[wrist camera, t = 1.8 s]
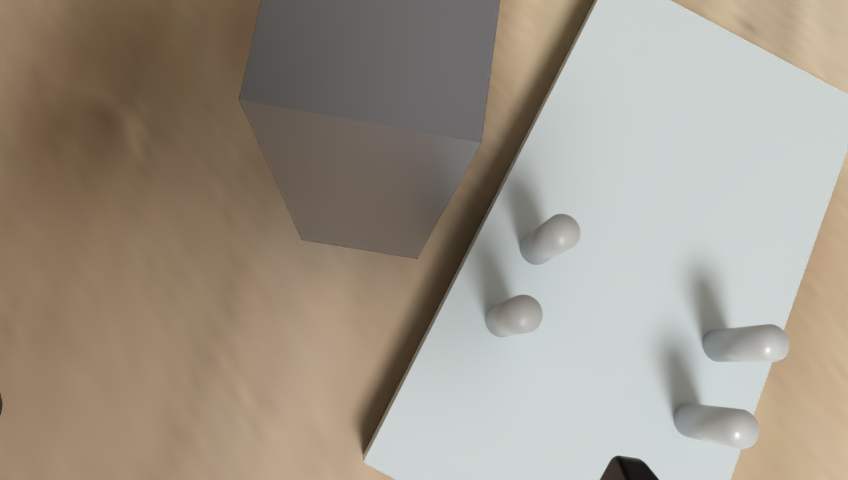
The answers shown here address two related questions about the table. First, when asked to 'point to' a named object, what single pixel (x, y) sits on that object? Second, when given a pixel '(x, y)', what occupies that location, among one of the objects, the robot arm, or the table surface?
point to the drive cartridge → (369, 112)
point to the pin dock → (627, 264)
